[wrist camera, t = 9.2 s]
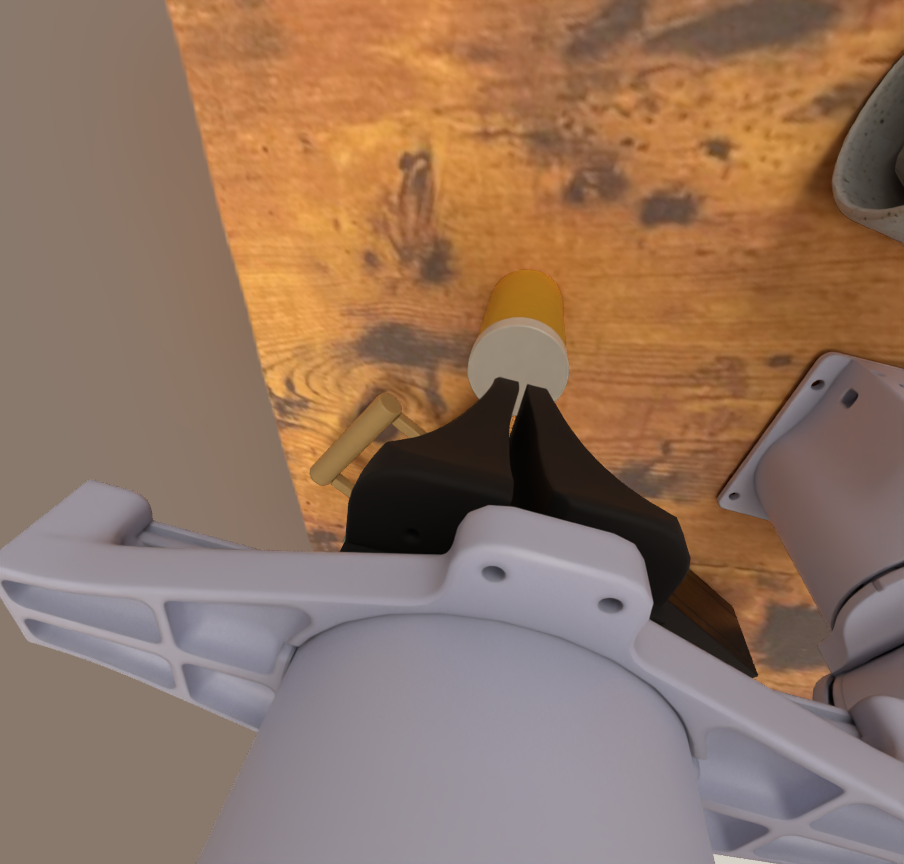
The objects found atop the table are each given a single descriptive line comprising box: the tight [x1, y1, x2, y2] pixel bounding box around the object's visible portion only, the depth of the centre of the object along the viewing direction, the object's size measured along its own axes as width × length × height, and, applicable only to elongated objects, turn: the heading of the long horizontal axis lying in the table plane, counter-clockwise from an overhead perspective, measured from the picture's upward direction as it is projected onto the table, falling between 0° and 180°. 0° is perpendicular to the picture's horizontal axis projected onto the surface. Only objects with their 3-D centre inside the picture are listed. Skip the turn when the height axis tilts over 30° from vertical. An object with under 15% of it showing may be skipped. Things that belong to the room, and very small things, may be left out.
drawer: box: [310, 392, 427, 542], centre depth 27 cm, size 17×11×3 cm
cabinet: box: [663, 569, 758, 678], centre depth 30 cm, size 14×13×5 cm
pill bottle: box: [467, 269, 569, 416], centre depth 19 cm, size 4×4×7 cm
